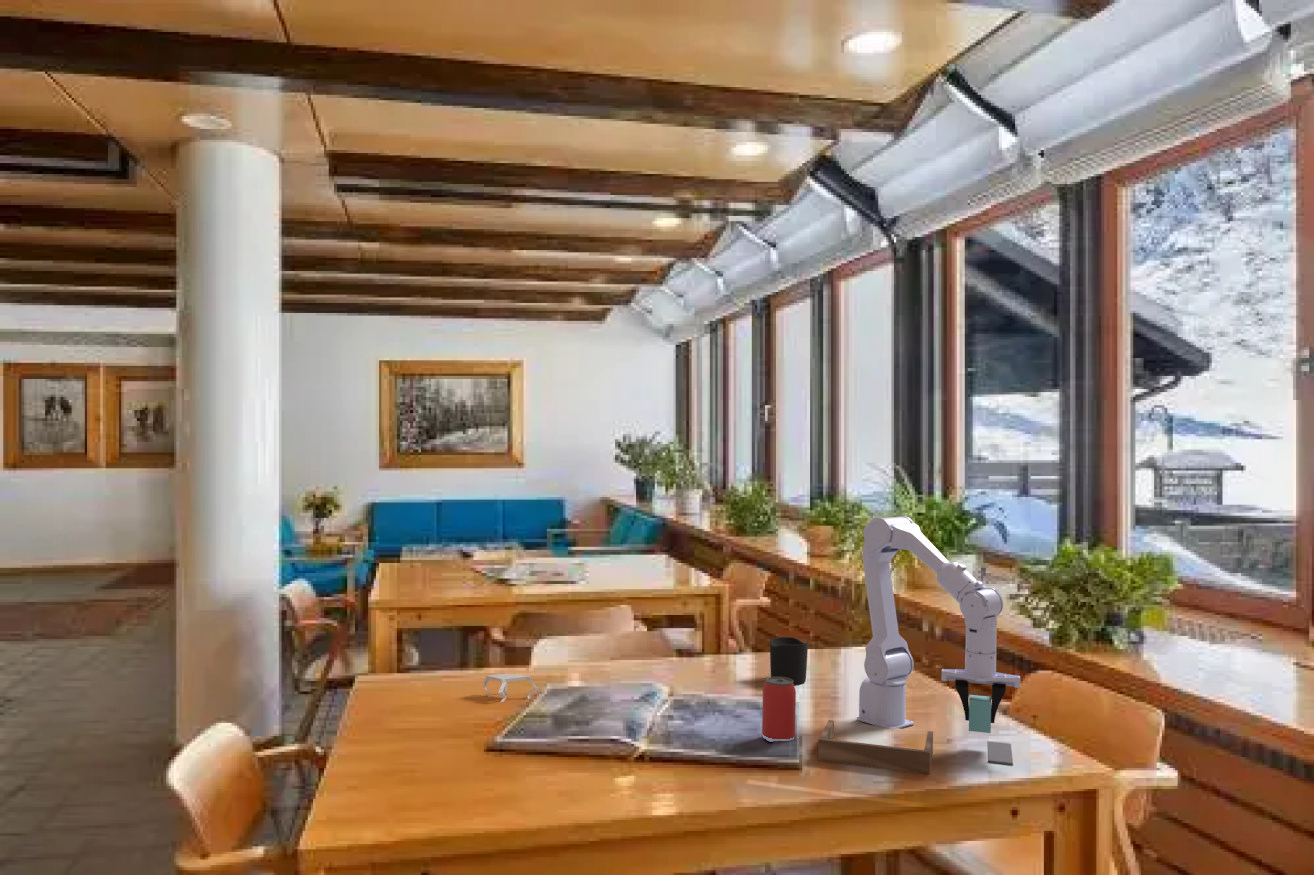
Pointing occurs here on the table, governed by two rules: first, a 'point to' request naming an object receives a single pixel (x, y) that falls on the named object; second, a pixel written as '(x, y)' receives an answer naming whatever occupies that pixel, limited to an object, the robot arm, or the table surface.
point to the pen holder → (788, 659)
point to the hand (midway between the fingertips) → (979, 720)
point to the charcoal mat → (999, 753)
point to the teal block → (980, 713)
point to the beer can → (779, 708)
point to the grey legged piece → (504, 679)
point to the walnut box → (874, 753)
